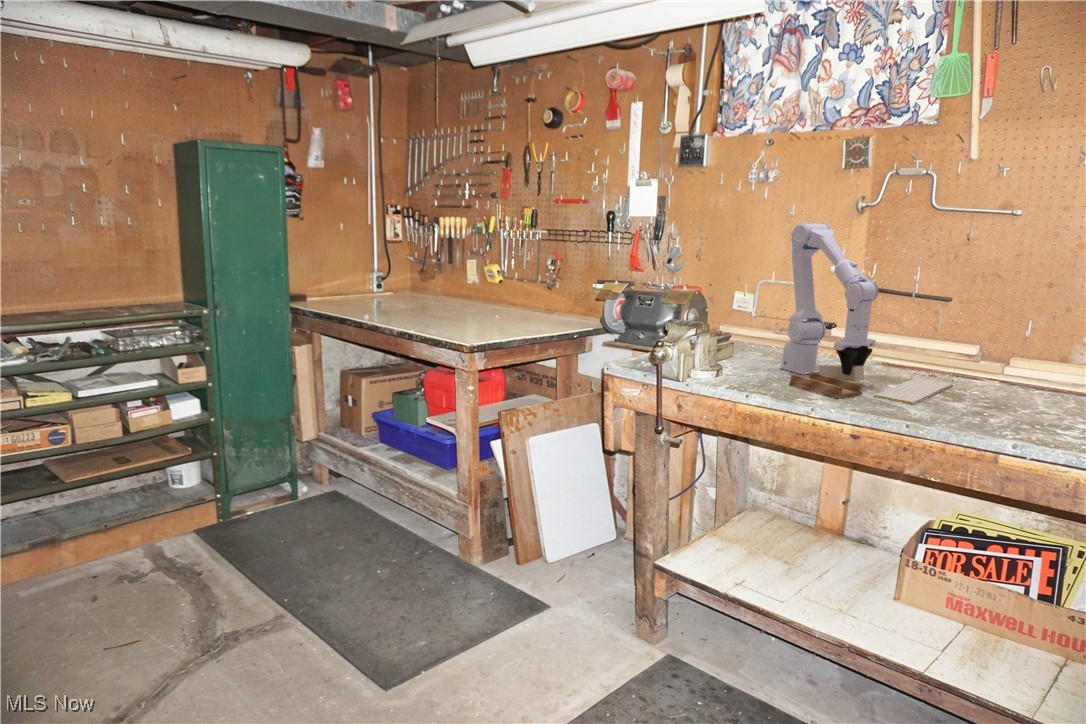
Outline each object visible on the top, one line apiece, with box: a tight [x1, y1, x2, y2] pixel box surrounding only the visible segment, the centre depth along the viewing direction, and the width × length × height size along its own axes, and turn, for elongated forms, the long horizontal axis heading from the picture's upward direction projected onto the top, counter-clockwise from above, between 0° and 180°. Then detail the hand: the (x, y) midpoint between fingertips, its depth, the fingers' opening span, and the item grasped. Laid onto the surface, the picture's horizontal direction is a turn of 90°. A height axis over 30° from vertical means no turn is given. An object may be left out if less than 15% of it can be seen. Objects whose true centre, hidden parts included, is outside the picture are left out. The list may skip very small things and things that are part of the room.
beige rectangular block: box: [818, 364, 865, 382], centre depth 194 cm, size 12×4×4 cm, turn 28°
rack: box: [788, 372, 863, 399], centre depth 186 cm, size 16×9×3 cm, turn 28°
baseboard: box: [870, 372, 954, 406], centre depth 188 cm, size 31×3×12 cm
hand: (851, 373), depth 191 cm, fingers closed on beige rectangular block, 4 cm apart
